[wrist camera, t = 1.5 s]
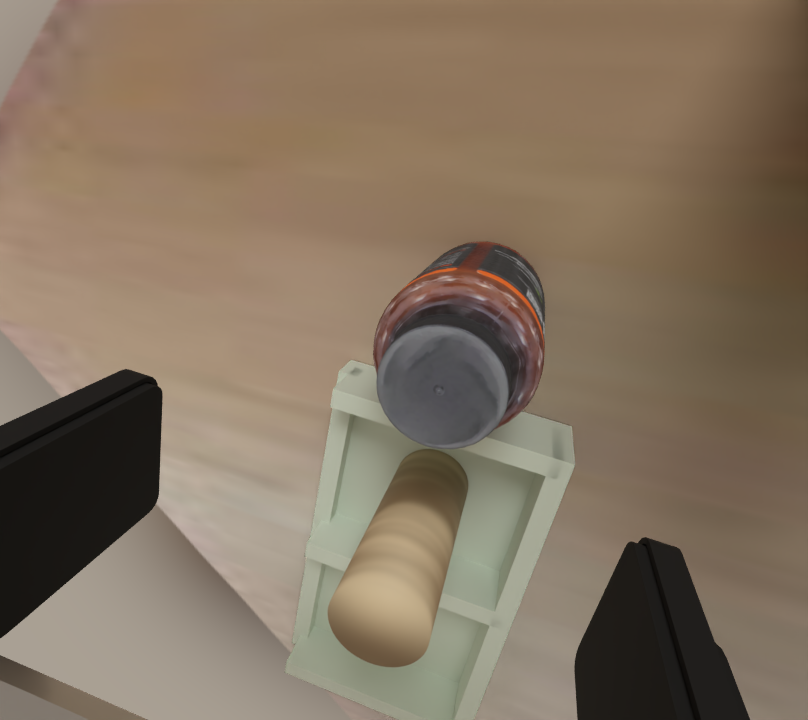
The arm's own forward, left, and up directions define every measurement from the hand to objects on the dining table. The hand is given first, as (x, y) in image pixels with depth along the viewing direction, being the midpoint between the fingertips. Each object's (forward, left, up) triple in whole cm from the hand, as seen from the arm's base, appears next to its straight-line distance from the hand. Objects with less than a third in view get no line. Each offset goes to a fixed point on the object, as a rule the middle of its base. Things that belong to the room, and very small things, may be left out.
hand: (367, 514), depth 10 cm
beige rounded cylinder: (+10, 0, -16) cm, 19 cm away
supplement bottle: (0, 0, -17) cm, 17 cm away
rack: (+15, 0, -17) cm, 23 cm away
